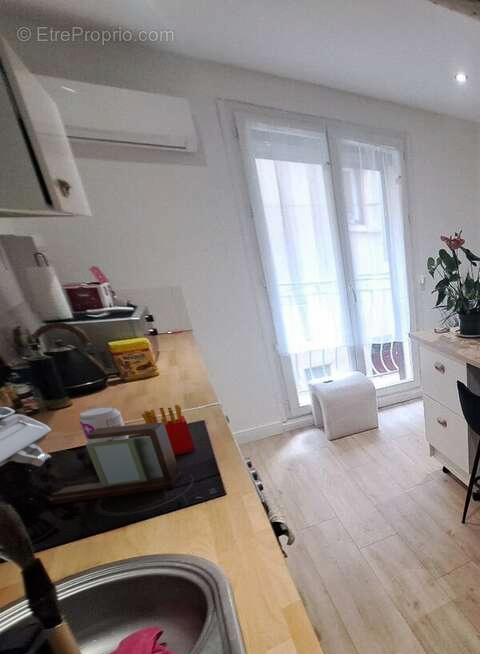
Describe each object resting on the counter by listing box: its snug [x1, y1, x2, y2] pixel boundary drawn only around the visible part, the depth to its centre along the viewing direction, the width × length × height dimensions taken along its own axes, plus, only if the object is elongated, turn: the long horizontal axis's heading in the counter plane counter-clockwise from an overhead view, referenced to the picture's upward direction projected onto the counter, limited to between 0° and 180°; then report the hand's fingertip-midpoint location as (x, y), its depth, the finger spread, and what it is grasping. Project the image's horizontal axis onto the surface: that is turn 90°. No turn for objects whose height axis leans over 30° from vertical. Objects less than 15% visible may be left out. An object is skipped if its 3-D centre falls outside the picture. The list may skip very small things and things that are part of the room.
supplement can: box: [78, 406, 130, 443], centre depth 119 cm, size 8×8×15 cm
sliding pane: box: [85, 437, 148, 487], centre depth 103 cm, size 9×1×12 cm, turn 111°
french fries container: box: [141, 404, 196, 457], centre depth 123 cm, size 7×9×14 cm
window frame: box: [49, 422, 182, 506], centre depth 103 cm, size 24×6×17 cm, turn 111°
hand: (46, 461), depth 98 cm, fingers closed
